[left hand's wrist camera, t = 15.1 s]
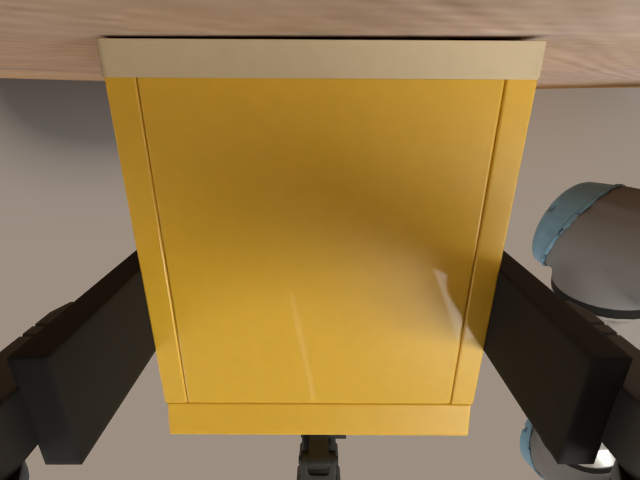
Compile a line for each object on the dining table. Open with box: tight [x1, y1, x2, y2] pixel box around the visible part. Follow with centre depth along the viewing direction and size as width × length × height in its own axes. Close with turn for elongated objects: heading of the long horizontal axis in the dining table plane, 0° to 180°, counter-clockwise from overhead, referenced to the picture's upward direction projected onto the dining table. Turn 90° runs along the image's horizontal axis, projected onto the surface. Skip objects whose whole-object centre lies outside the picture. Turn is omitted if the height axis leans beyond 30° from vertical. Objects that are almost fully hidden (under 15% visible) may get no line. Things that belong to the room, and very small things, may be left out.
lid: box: [168, 401, 470, 435], centre depth 21 cm, size 18×10×9 cm, turn 0°
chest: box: [96, 38, 546, 404], centre depth 18 cm, size 17×10×10 cm, turn 0°
